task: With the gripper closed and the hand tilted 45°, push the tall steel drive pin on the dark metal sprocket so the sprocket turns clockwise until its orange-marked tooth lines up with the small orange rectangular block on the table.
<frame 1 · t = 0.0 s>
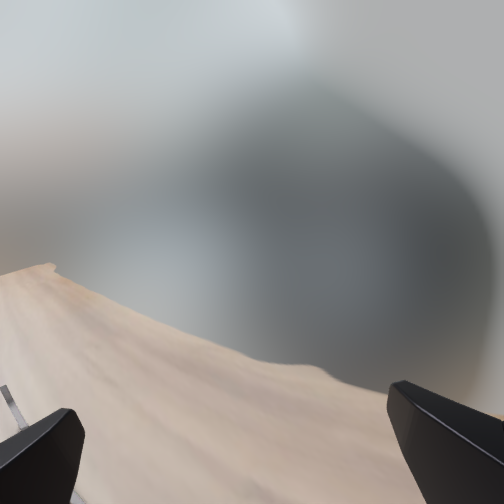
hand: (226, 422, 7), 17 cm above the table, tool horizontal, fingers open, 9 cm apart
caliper: (53, 471, 20), on the table
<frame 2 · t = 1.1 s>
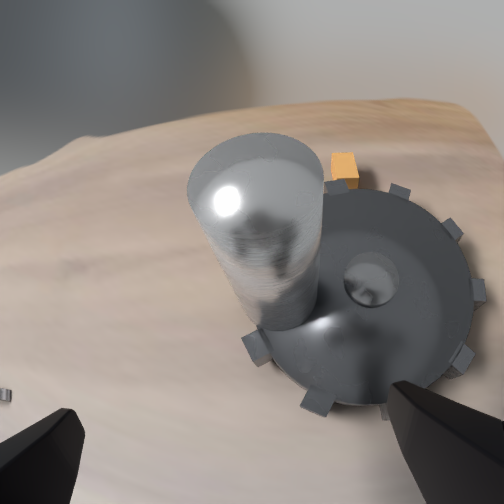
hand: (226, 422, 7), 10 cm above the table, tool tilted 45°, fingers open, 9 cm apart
orange rectangular block: (343, 181, 23), on the table
sprocket: (384, 248, 13), point 6 cm above the table, hinge at 0.0°
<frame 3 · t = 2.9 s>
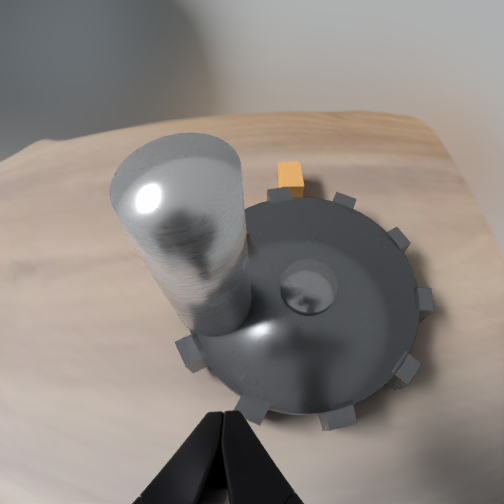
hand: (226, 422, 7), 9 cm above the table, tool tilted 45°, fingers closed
orange rectangular block: (289, 190, 24), on the table
sprocket: (318, 253, 14), point 6 cm above the table, hinge at 0.0°
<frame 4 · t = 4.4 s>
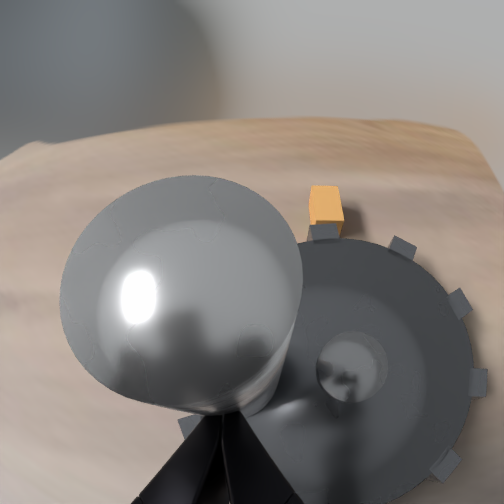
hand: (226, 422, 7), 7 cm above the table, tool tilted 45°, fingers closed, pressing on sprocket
orange rectangular block: (323, 221, 19), on the table
sprocket: (377, 347, 9), point 6 cm above the table, hinge at -4.2°, touching gripper
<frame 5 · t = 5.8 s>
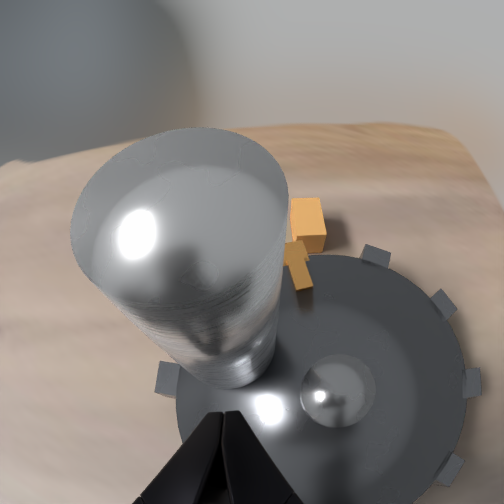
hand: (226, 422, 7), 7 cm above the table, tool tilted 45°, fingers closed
orange rectangular block: (305, 234, 19), on the table
sprocket: (361, 377, 9), point 6 cm above the table, hinge at -34.2°
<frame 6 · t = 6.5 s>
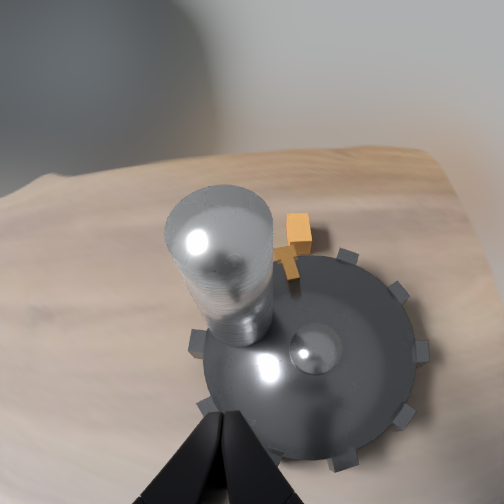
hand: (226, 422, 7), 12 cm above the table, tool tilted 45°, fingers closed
orange rectangular block: (297, 240, 25), on the table
sprocket: (324, 331, 15), point 6 cm above the table, hinge at -34.2°
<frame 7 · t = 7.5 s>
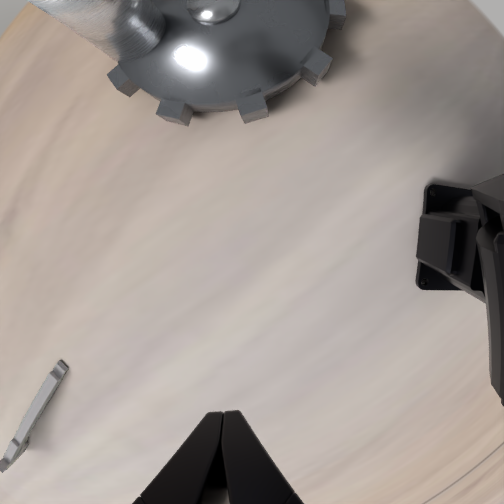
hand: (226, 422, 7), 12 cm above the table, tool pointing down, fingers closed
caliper: (39, 413, 24), on the table
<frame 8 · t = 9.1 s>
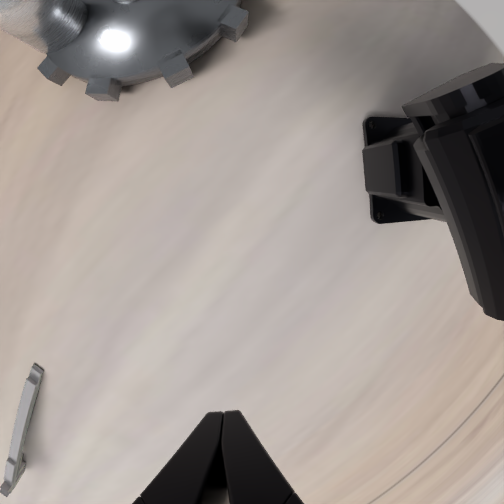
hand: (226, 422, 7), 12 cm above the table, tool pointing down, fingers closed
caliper: (28, 426, 22), on the table
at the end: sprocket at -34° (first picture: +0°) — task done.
